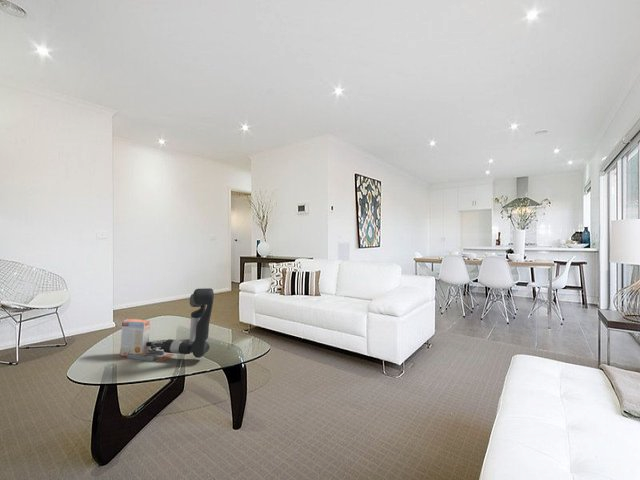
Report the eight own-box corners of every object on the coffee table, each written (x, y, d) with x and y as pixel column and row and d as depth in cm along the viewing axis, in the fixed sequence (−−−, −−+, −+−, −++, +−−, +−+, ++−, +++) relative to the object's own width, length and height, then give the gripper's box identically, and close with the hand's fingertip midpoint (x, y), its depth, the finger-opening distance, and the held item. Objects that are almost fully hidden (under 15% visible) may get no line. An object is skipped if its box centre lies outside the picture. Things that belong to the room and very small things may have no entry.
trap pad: (167, 354, 183) (167, 353, 183) (173, 354, 182) (173, 354, 182) (155, 361, 172) (155, 360, 172) (162, 361, 171) (162, 361, 171)
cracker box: (148, 354, 180) (150, 319, 180) (141, 358, 174) (143, 322, 174) (127, 352, 182) (129, 318, 182) (119, 356, 176) (121, 320, 176)
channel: (140, 351, 184) (140, 348, 184) (164, 354, 183) (164, 350, 183) (127, 357, 174) (127, 354, 174) (152, 360, 172) (153, 357, 172)
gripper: (181, 336, 183) (154, 334, 185) (168, 343, 170) (139, 340, 172) (180, 349, 183) (153, 346, 185) (167, 357, 170) (138, 354, 172)
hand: (147, 343), depth 178 cm, fingers closed
